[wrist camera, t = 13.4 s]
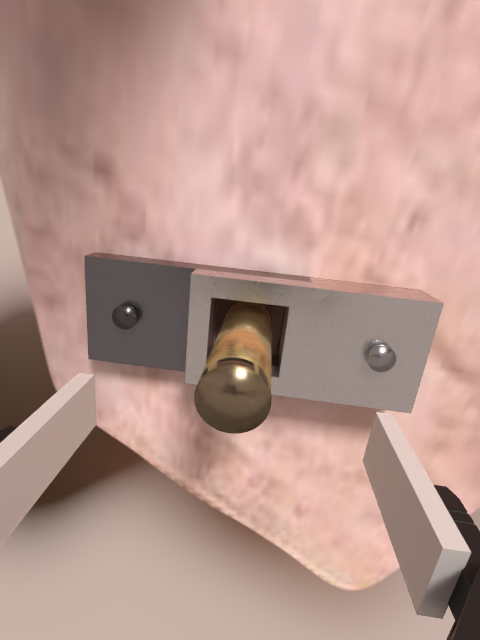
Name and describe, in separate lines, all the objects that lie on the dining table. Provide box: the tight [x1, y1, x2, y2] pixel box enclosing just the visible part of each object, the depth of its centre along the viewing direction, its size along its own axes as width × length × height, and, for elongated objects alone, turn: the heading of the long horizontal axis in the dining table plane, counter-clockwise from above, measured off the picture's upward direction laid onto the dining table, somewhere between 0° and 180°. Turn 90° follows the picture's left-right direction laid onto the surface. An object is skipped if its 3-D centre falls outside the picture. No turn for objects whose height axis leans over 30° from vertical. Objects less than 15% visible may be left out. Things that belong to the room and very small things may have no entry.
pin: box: [195, 301, 271, 433], centre depth 24 cm, size 4×4×13 cm
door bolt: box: [85, 253, 444, 413], centre depth 28 cm, size 9×27×5 cm, turn 84°
